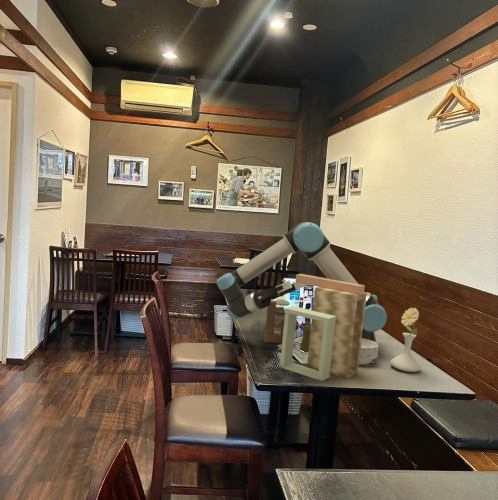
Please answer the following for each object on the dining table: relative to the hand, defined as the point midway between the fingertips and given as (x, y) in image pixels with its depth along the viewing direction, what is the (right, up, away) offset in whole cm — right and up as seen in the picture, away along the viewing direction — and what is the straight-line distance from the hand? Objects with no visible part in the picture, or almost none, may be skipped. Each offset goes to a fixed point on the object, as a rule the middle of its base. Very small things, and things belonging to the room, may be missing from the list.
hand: (299, 282), depth 174 cm
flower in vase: (+41, -34, +1) cm, 53 cm away
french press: (-5, -26, +39) cm, 47 cm away
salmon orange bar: (+10, -1, -7) cm, 12 cm away
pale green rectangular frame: (0, -31, -12) cm, 33 cm away
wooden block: (-8, -28, +21) cm, 36 cm away
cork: (+4, -30, +13) cm, 33 cm away
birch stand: (+11, -32, -7) cm, 35 cm away
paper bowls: (+24, -32, +6) cm, 40 cm away
